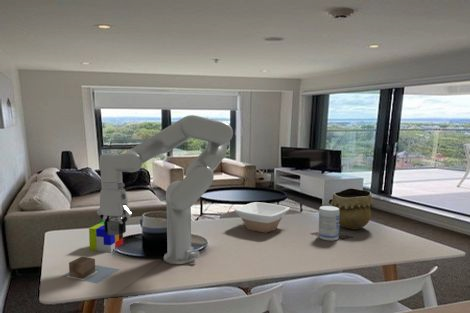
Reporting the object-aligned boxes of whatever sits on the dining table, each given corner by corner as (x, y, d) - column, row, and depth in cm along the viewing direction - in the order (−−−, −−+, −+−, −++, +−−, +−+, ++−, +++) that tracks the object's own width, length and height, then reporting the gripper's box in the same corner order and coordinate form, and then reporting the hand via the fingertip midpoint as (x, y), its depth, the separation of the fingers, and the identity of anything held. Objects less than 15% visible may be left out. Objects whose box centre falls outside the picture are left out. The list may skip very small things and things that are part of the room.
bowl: (230, 230, 178) (230, 209, 177) (255, 219, 198) (255, 201, 197) (270, 239, 164) (271, 217, 163) (293, 226, 184) (293, 207, 183)
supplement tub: (340, 241, 161) (341, 210, 159) (320, 241, 161) (321, 210, 160) (336, 234, 170) (337, 205, 169) (316, 234, 171) (317, 205, 170)
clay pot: (353, 237, 167) (354, 196, 165) (321, 225, 186) (323, 189, 184) (381, 230, 177) (383, 192, 175) (349, 220, 196) (350, 185, 194)
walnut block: (95, 271, 126) (94, 258, 125) (83, 278, 120) (82, 265, 120) (82, 269, 128) (81, 256, 127) (69, 276, 122) (68, 262, 122)
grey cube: (125, 230, 135) (125, 218, 135) (121, 234, 130) (120, 221, 130) (113, 230, 136) (112, 218, 135) (108, 234, 131) (107, 222, 130)
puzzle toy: (111, 252, 146) (110, 229, 145) (89, 251, 148) (89, 228, 147) (123, 244, 156) (122, 223, 155) (103, 243, 158) (102, 221, 157)
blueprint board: (120, 270, 128) (120, 269, 128) (97, 285, 117) (97, 283, 117) (85, 264, 134) (85, 263, 134) (60, 277, 122) (60, 276, 122)
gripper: (137, 184, 130) (140, 231, 132) (100, 183, 136) (103, 227, 138) (125, 188, 123) (128, 237, 125) (86, 186, 129) (90, 233, 131)
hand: (115, 231), depth 132 cm, fingers closed on grey cube, 5 cm apart
